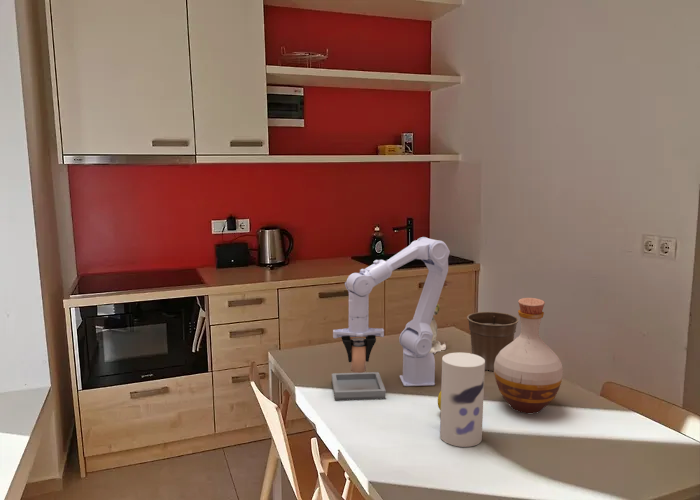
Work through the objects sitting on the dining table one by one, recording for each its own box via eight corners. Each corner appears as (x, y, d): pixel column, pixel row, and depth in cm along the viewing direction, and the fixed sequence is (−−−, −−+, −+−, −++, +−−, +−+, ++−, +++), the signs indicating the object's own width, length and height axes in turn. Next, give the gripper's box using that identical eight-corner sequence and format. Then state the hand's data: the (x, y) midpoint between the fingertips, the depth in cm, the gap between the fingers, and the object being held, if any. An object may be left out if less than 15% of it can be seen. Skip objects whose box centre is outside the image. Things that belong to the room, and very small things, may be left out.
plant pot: (460, 369, 183) (462, 321, 180) (470, 354, 197) (472, 309, 195) (512, 377, 176) (515, 327, 174) (518, 360, 191) (521, 314, 189)
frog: (403, 348, 203) (404, 299, 200) (425, 341, 212) (426, 293, 209) (429, 356, 195) (430, 305, 192) (450, 348, 204) (452, 298, 201)
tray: (378, 379, 174) (378, 372, 173) (385, 399, 160) (385, 390, 159) (331, 381, 172) (331, 373, 172) (334, 400, 158) (334, 392, 158)
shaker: (364, 366, 166) (365, 337, 165) (367, 372, 162) (367, 342, 160) (349, 367, 166) (349, 338, 164) (351, 373, 161) (351, 343, 160)
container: (457, 451, 131) (459, 368, 128) (431, 433, 140) (433, 355, 136) (490, 441, 135) (493, 361, 132) (463, 424, 144) (466, 349, 141)
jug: (495, 388, 167) (500, 289, 163) (560, 396, 161) (566, 294, 157) (489, 416, 149) (493, 305, 144) (561, 426, 143) (568, 311, 139)
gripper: (334, 319, 157) (334, 366, 159) (385, 318, 158) (385, 364, 160) (332, 313, 163) (332, 357, 166) (382, 311, 165) (381, 356, 167)
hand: (358, 360), depth 163 cm, fingers closed on shaker, 4 cm apart
